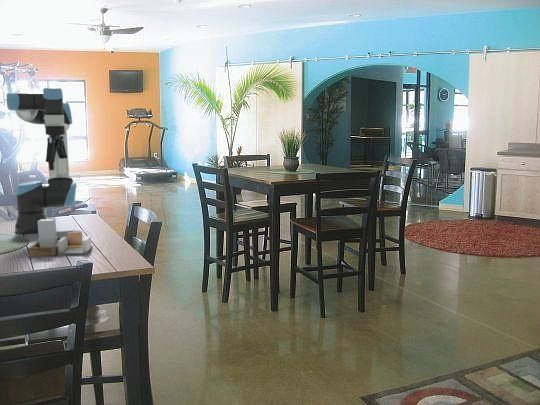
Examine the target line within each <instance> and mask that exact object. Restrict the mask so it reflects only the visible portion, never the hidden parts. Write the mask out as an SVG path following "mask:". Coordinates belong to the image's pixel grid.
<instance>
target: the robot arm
mask: <svg viewBox="0 0 540 405" xmlns="http://www.w3.org/2000/svg"><path fill="white" fill-rule="evenodd" d="M63 95H64V94H63V89H62V88H60V87H44V88H43V89H42V92H23V91H22V92H19V91H14V92H13V91H12V92H7V93H6V107H7V109H8V111H14V112H15V113H16V115H17V116H18V118H19V119H20V120H22V121H23V122H26V123H30V124H32V125H33V124H34V125H44V128H45V131H44V132H45V135H48V137H47V138H46V140H47V144H46V145H47V146H46V156H45V157H46V158H45V162H46V163H47V164H48V178H47V183H43V181H42V180H31V181H27V182H22V183H19V184H18V185H16V194H15V195H16V201H17V202H16V204H17V218H16V221H15V226H14V232H15V233H19V234H35V233H38V224H37V221H39V220H40V219H48V218H47V215H46V214H45V209H47V208H48V209H51V208H52V209H53V208H66V207H67V208H68V207H73V206H74V205H75V203H76V202H75V201H76V192H77V182H74V179H73V178H72V177H71V176H70V168H69V151H68V150H69V149H68V133H67V131H68V130H69V129H70V126H71V125H72V124H73V117H72V111H71V107H70V104H69V102H68V101H67V100H64V99H63V98H64V96H63Z"/></svg>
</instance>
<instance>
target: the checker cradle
mask: <svg viewBox="0 0 540 405" xmlns="http://www.w3.org/2000/svg"><path fill="white" fill-rule="evenodd" d="M60 238H61V239H60V240H58V253H57V255H56V256H57V257H63V256H64V257H66V256H87V254H88V253H89V252H90V251H91V250H92V249H93V244H92V236H91V235H86V236H85V237H84V238H82V245H72V246H68V241H67V236H62V237H60Z"/></svg>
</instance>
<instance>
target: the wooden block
mask: <svg viewBox="0 0 540 405" xmlns="http://www.w3.org/2000/svg"><path fill="white" fill-rule="evenodd" d="M66 237H67V244H68V246H72V245H82V240H83V231H82V230H72V231H68V232H66Z"/></svg>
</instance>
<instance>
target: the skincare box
mask: <svg viewBox="0 0 540 405" xmlns="http://www.w3.org/2000/svg"><path fill="white" fill-rule="evenodd" d="M37 224H38V232H37V233H38V241H39V244H40V248H41V247H53V246H55V245H56V244H57V238H58V234H57V224H56V218H47V219H40V220H39V221H37Z"/></svg>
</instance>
